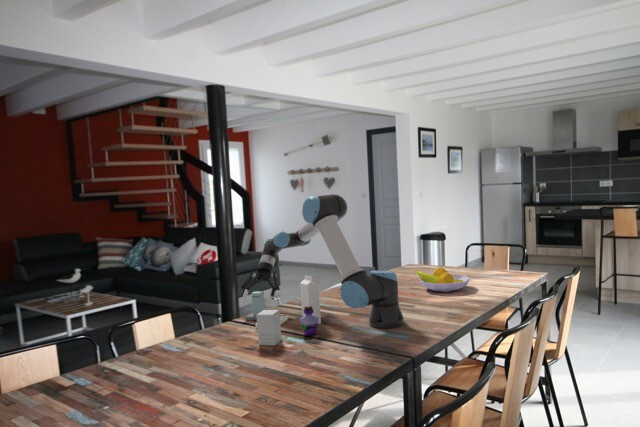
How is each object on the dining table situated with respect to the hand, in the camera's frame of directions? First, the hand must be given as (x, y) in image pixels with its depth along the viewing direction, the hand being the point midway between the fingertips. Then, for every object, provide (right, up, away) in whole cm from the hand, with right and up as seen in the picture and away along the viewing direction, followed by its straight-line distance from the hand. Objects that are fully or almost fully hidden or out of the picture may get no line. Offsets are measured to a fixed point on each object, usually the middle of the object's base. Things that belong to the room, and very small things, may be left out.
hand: (256, 302), depth 232 cm
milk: (+27, -7, -15) cm, 32 cm away
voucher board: (+9, -8, -10) cm, 16 cm away
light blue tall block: (+1, -6, +3) cm, 7 cm away
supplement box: (+11, -10, -37) cm, 40 cm away
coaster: (+1, -8, +3) cm, 8 cm away
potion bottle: (+27, -8, -31) cm, 41 cm away
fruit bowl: (+99, +1, +33) cm, 104 cm away
